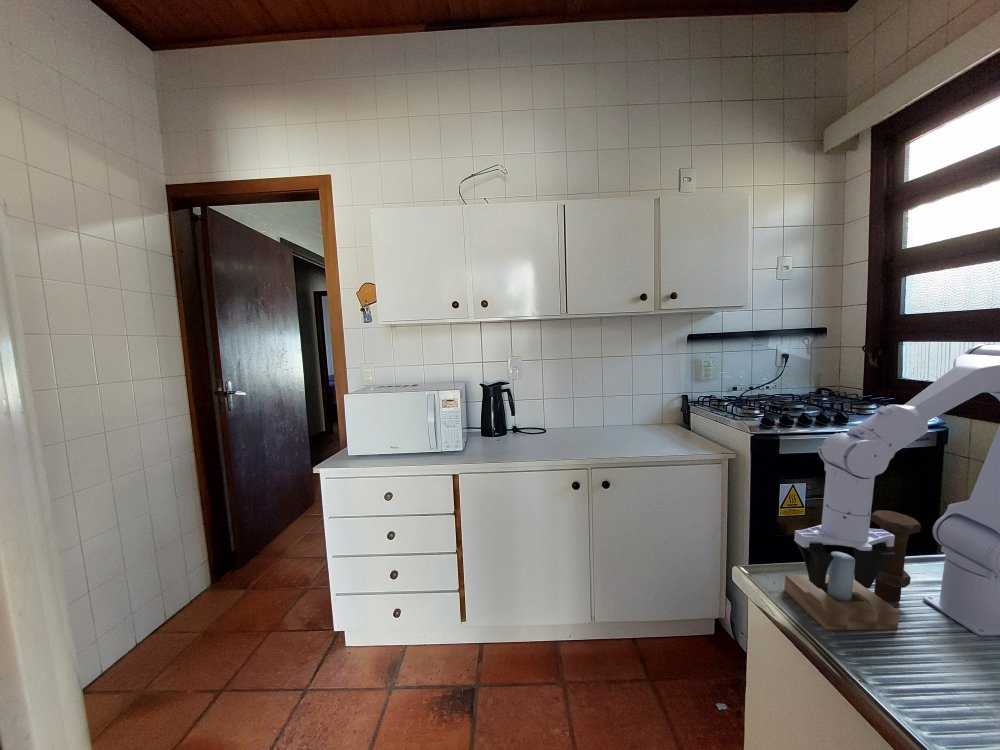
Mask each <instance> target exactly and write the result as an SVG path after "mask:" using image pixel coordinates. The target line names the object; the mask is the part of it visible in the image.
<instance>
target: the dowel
mask: <svg viewBox="0 0 1000 750" xmlns="http://www.w3.org/2000/svg"><path fill="white" fill-rule="evenodd" d="M830 555H832V556H833V557H834V559H833V560H832V561H831V563H830V565H829V568H828V569H829V571H828V575H829V580H828V591H827V594H828V595H829V596H830V597H831V598H833V599H834V600H835V601H836V602H851V599H852V589H853V579H855V577H854V569H855V558H854V557H853V556H852V555H850V554H848V553H846V552H845V553H844V552H841V551H831V552H830Z"/></svg>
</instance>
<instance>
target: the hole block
mask: <svg viewBox="0 0 1000 750" xmlns="http://www.w3.org/2000/svg"><path fill="white" fill-rule="evenodd" d="M784 578H785V579H784V589H783V591H785V593H787V594H788V595H789V596H790V597H791V598H792V599H793V600H794V601H795V602H796V603H798V605H799V606H800V607H802V609H804V610H805V611H806V612H807V613H808V614H809V615H810V616H811V617H812V618H814V620H815V621H817V623H819V625H821V627H823V628H824V629H825V630H828V631H830V630H831V631H832V630H834V631H835V630H838V631H839V630H840V631H843V630H847V631H848V630H853V631H854V630H898V629H899V627H898V626H899V623H900V621H899V619H900V610H898V609H896V608H895V607H894V606H892V605H890V604H889V602H886V601H884V600H882V599H881V598H880V597H878V596H877V595H876V594H874V591H871V590H870V588H865V587H864V586H862V585H861V584H860V583H858V582H857V581H856V580H855V578H854V579H853V589H852V599H851V602H836V601H835V600H834V599H833V598H831V597H830V596H829V595H828V594H827V591H828V580H829V574H826V580H825V585H824V587H823V589H819V588H817V587H816V586H815V585H814V584H813V583H811V582H810V581H809V576H808V574H785V577H784Z"/></svg>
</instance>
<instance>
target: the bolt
mask: <svg viewBox="0 0 1000 750" xmlns="http://www.w3.org/2000/svg"><path fill="white" fill-rule="evenodd" d="M871 521H872V522H873V523H875V524H876V525H878V526H879V529H883V530H885V531H887V532H889V533H891V534H893V535H894V536H895V539H894V546H893V547H888V546H886V548H888V549H890V550H891V551H893V552H894V553H895V555H894V559H893V560H891V561H890V562H888V563H887V564H886V565H885V566H884V567H883V568H882V569H881V570H880V572H879V573H878V575H877V576H876V578H875V580H874V588H873V593H874V594H876V595H877V596H878V597H880V598H881V599H882V600H884V601H885V602H887V603H892V604H894V603H899V602H900V601H901V594H902V589H903V588H906V587H908V586H909V585H911V579H912V578H911V576H910V575H909V573H908V572H907V571H905V563H906V562H905V561H906V552H907V545H908V540H909V536H910V535H914V534H916V533H920V532H921V526H922V525H921V523H920V522H919V521H918V520H916V519H915V518H914V517H912V516H909V515H907V514H903V513H900V512H896V511H891V510H879V509H878V510H875V511H874V512H871V517H870V522H871Z"/></svg>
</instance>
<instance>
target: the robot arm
mask: <svg viewBox="0 0 1000 750" xmlns="http://www.w3.org/2000/svg"><path fill="white" fill-rule="evenodd" d="M982 393H989V394H991V395H992V396H993V397H995V398H996V399H997V400H998V401H999V402H1000V344H999V345H996V344H991V343H981V344H977V345H975V346H972V347H970V348H968V350H967V351H966V352H964V353H963V354H961V355H959V356H957V357H955V358H954V360H953V363H952V368H951V369H949V370H948V371H946V372H945V373H944V374H943V375H941V377H939V378H937V379H936V380H935V381H934V382H933V383H931V384H930V385H928V386H927V387H926V388H925V389H923V390H921V392H919V393H917V394H916V395H915V396H913V398H911V399H910V400H909V401H907V402H906V403H905V404H887V405H886V406H885V405H881V406H880V407H878V408H876V409H875V410H874V411H875V413H874V414H872V415H870V416H869V417H867V418H866V419H864V420H863V421H861V422H860V423H858V424H857V425H854V426H853V425H852V427H850V428H849V429H848V430H847V431H846V432H840V433H839V432H835V433H833V434H831V435H830V436H827V438H825V439H824V440H823V442H822V444H821V446H818V447H817V451H818V455H819V458H820V459H821V460H822V461H823V463H824V467H823V469H824V470H823V471H825V479H824V480H825V482H824V492H823V493H824V494H823V503H822V514H821V524H819V525H816V526H813V527H808V528H804V529H798V530H797V529H796V530H794V538H793V539H794V542H795V544H796V546H797V548H798V550H799V551H800V554H801V556H802V558H803V560H804V563H805V568H806V571H807V575H808V576H809V581H810V582H811V583H813V584H814V585H815V586H816V587H817V588H819V589H823V587H824V585H825V580H826V575H827V573H828V569H829V568H830V563H831V561H832V560H833V559H834V557H833V556H832V555H831V553H829V552H827V551H826V548H825V547H824V546H828V545H830V546H844V547H847V548H848V547H850V548H852V550H853V555H854V557H853V558H854V559H855V569H854V579H855V580H856V581H857V582H858V583H860V584H861V585H862V586H864V587H865V588H867V589H870V588H872V585H873V583H875V580H876V579H875V578H876V576H877V575H878V573H879V572H880V570H881V569H882V568H883V567H884V566H885V565H886V564H887V563H888V562H890V561H891V560H893V559H894V555H895V553H894V552H893V551H891V550H890V549H888V548H886V546H888V547H893V546H894V539H895V536H894V535H893V534H891V533H889V532H887V531H885V530H883V529H880V528H879V529H878V528H870V527H871V515H872V505H873V497H874V487H875V486H874V485H875V477H877V476H878V475H881V474H884V472H885V471H886V470H887V468H888V467H889V463H890V461H891V459H893V458H894V457H895V455H896V453H897V452H898V451H900V450H901V449H903V448H905V447H907V446H908V445H910V444H911V443H913V442H914V441H916V440H918V439H919V438H921V437H922V436H924V435H925V434H927V433H928V431H929V421H930V420H933V419H935V418H936V417H938V416H940V415H943V414H944V413H947V412H948V411H950V410H951V409H954V408H956V407H957V406H959V405H962V404H963V403H964V402H966V401H967V402H968V401H969V400H970V399H972V398H974V397H975V396H977V395H980V394H982ZM986 455H987V456H986V458H985V460H984V463H983V466H982V467H981V471H980V473H979V475H978V477H977V481H976V483H975V485H974V487H973V489H972V492H971V494H970V498H969V499H968V500H964V501H959V502H955V503H950V504H948V505H947V509H946V510H945V512H944V514H943V515H942V516H941V517H939V518H938V519H937V520H936V521H935V523H934V524H933V526H932V536H933V538H934V540H935V541H936V542H937V543H938V544H939V545H941V548H940V552H942V553H943V554H944V563H943V572H942V579H941V586H940V587H941V588H940V595H927V596H926V595H924V596H922V600H923V601H925V602H926V603H928V604H930V605H931V606H933V607H934V608H935V609H937V610H939V611H940V612H942V613H943V614H945V615H946V616H948V617H949V618H950V619H952V620H954V621H956V622H957V623H959V624H960V625H962V626H963V627H964V628H966V629H968V630H969V631H971V632H972V633H973V634H976V635H978V636H1000V425H999V426H998V429H997V432H996V434H995V436H994V439H993V441H992V443H991V446H990V447H989V450H988V453H987V454H986Z"/></svg>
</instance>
